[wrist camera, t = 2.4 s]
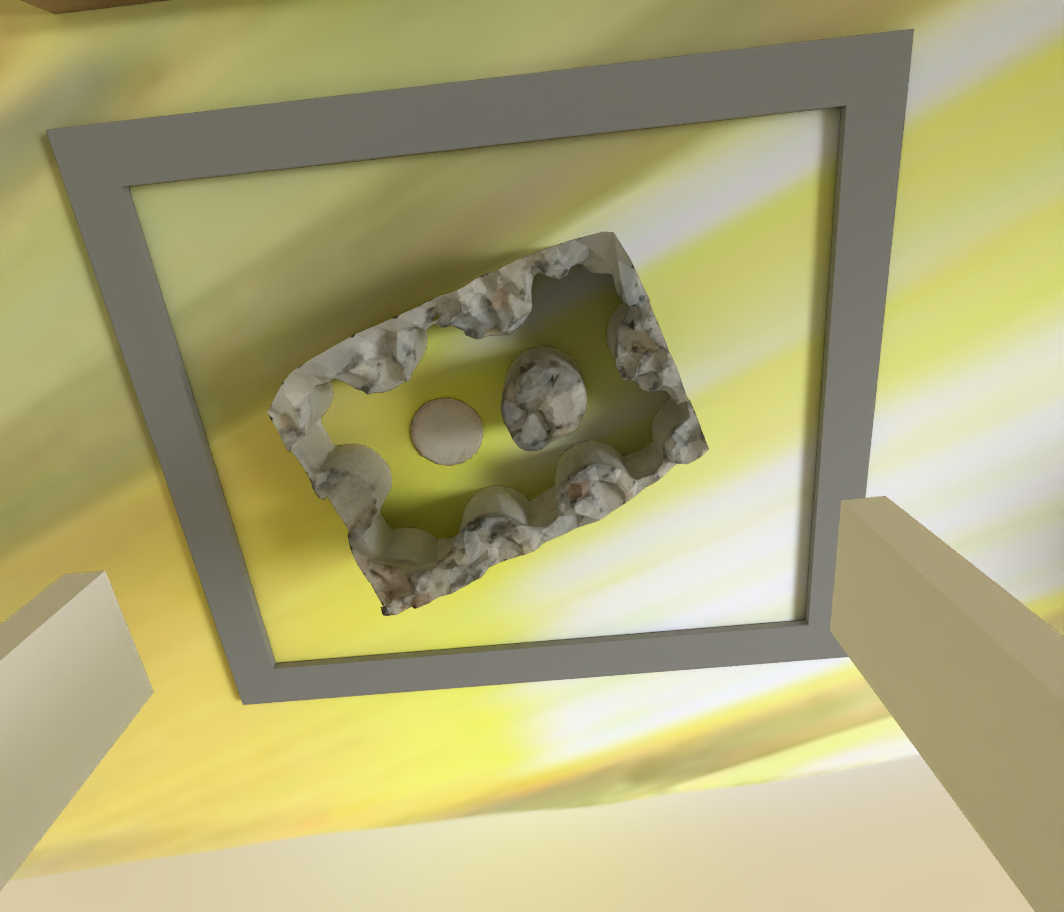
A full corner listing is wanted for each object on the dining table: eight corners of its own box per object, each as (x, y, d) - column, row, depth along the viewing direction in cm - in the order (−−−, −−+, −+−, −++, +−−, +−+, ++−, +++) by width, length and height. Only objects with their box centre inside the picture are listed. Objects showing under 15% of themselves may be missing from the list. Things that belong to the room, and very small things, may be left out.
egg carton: (400, 558, 22) (371, 634, 18) (282, 362, 19) (219, 400, 15) (697, 441, 20) (734, 496, 16) (610, 209, 17) (631, 209, 14)
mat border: (906, 32, 16) (913, 28, 15) (844, 651, 23) (848, 657, 22) (53, 131, 17) (46, 129, 16) (246, 698, 23) (243, 704, 23)
